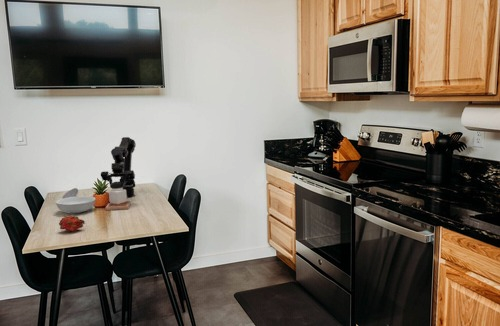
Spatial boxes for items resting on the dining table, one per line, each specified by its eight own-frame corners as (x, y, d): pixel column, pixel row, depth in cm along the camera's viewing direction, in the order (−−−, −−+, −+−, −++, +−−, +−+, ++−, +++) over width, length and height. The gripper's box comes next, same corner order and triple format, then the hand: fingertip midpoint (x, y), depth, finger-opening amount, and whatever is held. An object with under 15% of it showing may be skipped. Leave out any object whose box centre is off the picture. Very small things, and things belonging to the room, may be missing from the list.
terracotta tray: (105, 210, 243) (105, 207, 243) (109, 205, 255) (109, 202, 255) (128, 209, 245) (127, 206, 245) (130, 204, 257) (130, 201, 257)
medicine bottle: (127, 201, 251) (125, 181, 249) (118, 204, 245) (116, 183, 243) (118, 200, 255) (116, 180, 253) (109, 203, 249) (107, 182, 247)
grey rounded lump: (79, 209, 267) (79, 197, 262) (61, 209, 264) (61, 197, 258) (79, 198, 276) (80, 185, 271) (62, 198, 272) (62, 185, 267)
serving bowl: (80, 217, 231) (79, 205, 230) (48, 215, 237) (47, 203, 236) (103, 207, 251) (103, 196, 250) (74, 206, 257) (73, 195, 256)
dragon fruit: (58, 234, 207) (84, 236, 209) (55, 228, 199) (82, 230, 202) (61, 218, 211) (87, 219, 213) (58, 211, 203) (85, 213, 206)
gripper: (100, 158, 249) (96, 180, 240) (132, 156, 251) (130, 178, 241) (104, 169, 258) (101, 191, 249) (135, 167, 260) (133, 189, 250)
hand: (116, 187), depth 247 cm, fingers closed on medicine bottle, 6 cm apart
